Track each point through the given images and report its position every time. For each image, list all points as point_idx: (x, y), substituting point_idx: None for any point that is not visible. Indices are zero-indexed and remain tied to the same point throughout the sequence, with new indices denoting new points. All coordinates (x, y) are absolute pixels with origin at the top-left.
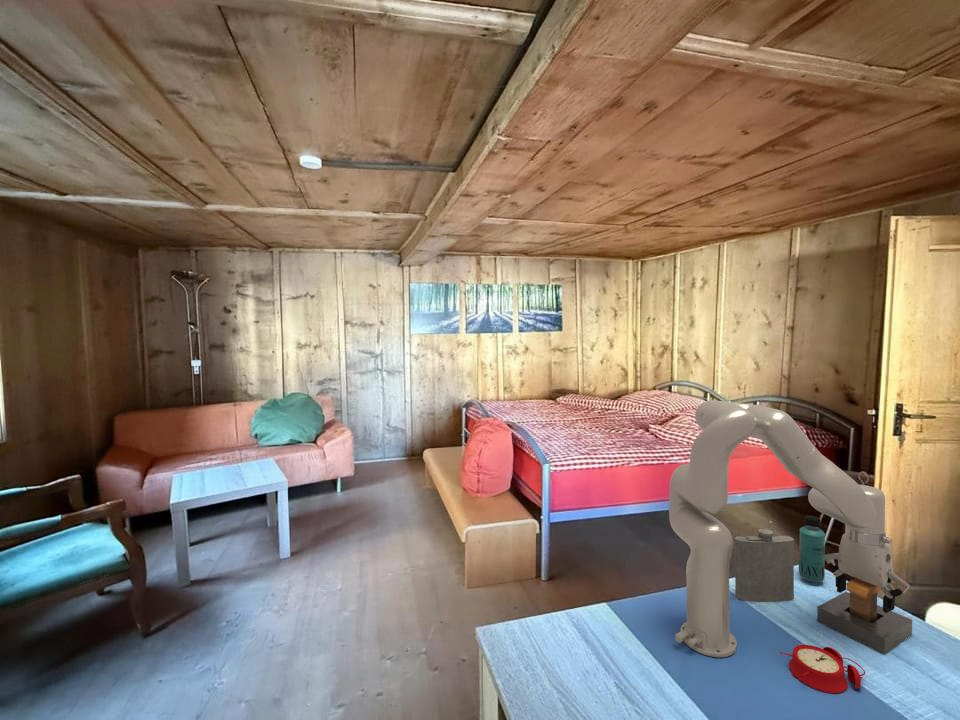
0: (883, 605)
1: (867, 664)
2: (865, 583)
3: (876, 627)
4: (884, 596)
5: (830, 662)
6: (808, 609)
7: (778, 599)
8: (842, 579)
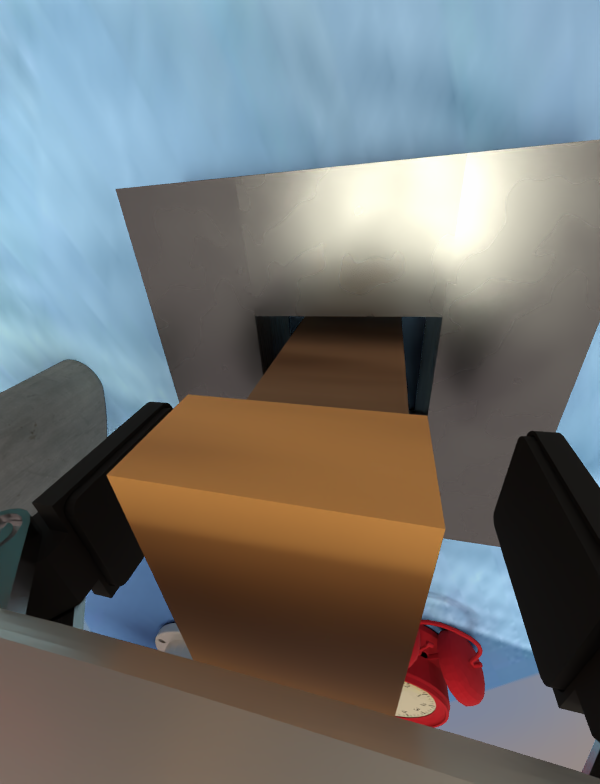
0: (513, 572)
1: (456, 557)
2: (300, 645)
3: (449, 486)
4: (565, 700)
5: (408, 689)
6: (169, 400)
7: (99, 442)
8: (116, 550)
